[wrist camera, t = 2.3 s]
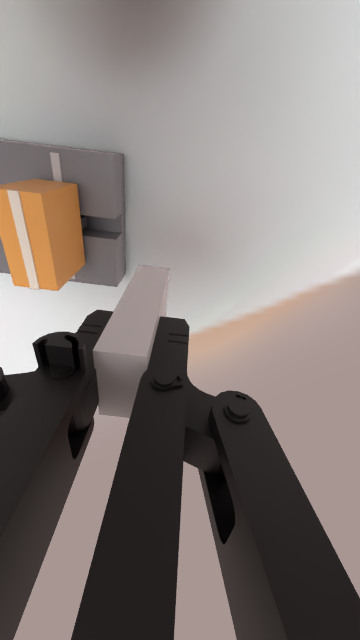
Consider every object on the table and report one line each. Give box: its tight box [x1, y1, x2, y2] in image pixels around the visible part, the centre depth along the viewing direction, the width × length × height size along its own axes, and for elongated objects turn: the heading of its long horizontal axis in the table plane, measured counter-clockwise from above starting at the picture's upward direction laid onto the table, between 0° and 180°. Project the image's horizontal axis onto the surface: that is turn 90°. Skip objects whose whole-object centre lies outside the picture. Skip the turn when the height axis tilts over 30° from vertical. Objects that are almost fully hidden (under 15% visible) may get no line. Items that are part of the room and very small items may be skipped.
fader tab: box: [0, 179, 88, 291], centre depth 19 cm, size 6×3×7 cm, turn 174°
